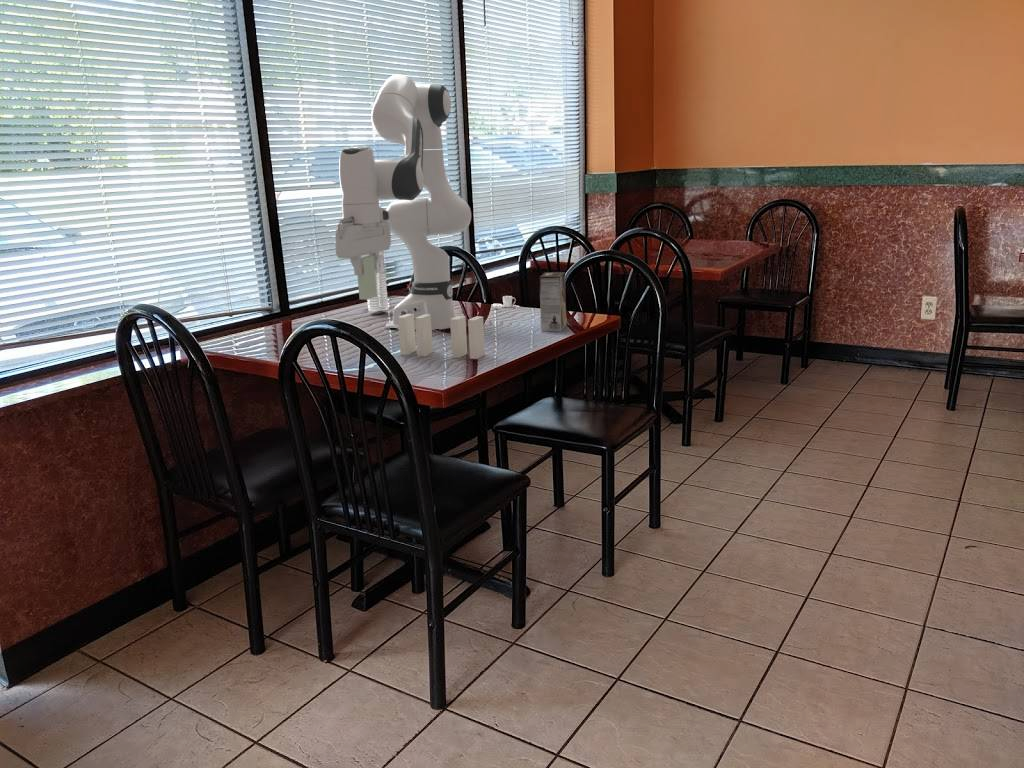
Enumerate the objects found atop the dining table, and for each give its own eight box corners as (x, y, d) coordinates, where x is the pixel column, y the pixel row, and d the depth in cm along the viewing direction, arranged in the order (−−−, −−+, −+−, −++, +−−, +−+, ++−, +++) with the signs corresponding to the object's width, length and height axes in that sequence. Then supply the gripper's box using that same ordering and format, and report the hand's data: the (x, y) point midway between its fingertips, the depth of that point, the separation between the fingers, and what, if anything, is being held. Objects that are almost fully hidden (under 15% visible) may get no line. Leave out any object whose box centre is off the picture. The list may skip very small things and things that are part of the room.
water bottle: (386, 312, 280) (380, 237, 274) (366, 312, 281) (360, 238, 274) (389, 308, 287) (384, 235, 280) (370, 309, 287) (364, 236, 281)
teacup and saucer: (490, 310, 278) (489, 298, 277) (498, 306, 285) (498, 294, 284) (515, 311, 275) (514, 298, 274) (522, 306, 283) (522, 295, 282)
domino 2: (400, 354, 218) (397, 317, 215) (409, 350, 223) (407, 313, 220) (407, 355, 217) (404, 317, 215) (416, 350, 222) (413, 314, 219)
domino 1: (359, 299, 203) (355, 258, 200) (370, 296, 208) (366, 255, 205) (366, 299, 202) (363, 258, 200) (376, 296, 207) (373, 256, 204)
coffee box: (545, 325, 249) (544, 271, 245) (566, 325, 248) (565, 271, 243) (540, 331, 240) (538, 276, 236) (562, 331, 239) (561, 276, 235)
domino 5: (470, 358, 211) (468, 320, 208) (477, 354, 215) (475, 316, 213) (477, 359, 210) (475, 320, 208) (484, 354, 215) (483, 316, 212)
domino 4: (452, 357, 213) (450, 319, 210) (460, 353, 217) (458, 315, 215) (459, 358, 212) (457, 319, 209) (467, 353, 216) (465, 315, 214)
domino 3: (417, 355, 216) (415, 317, 214) (426, 351, 221) (423, 314, 218) (424, 356, 216) (421, 318, 213) (432, 351, 220) (430, 314, 217)
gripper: (349, 219, 189) (354, 279, 193) (393, 212, 208) (397, 267, 211) (326, 219, 191) (331, 278, 195) (371, 212, 210) (375, 267, 213)
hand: (366, 272), depth 203 cm, fingers closed on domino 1, 5 cm apart
